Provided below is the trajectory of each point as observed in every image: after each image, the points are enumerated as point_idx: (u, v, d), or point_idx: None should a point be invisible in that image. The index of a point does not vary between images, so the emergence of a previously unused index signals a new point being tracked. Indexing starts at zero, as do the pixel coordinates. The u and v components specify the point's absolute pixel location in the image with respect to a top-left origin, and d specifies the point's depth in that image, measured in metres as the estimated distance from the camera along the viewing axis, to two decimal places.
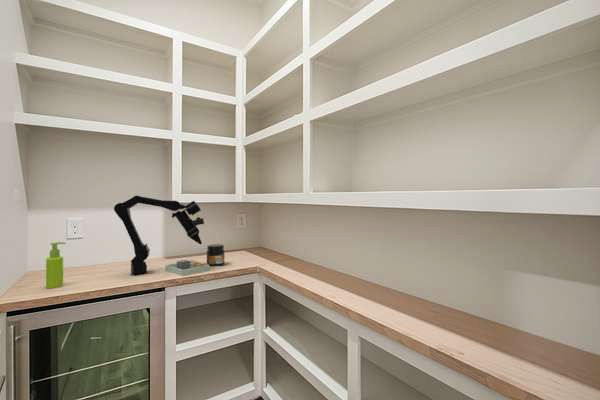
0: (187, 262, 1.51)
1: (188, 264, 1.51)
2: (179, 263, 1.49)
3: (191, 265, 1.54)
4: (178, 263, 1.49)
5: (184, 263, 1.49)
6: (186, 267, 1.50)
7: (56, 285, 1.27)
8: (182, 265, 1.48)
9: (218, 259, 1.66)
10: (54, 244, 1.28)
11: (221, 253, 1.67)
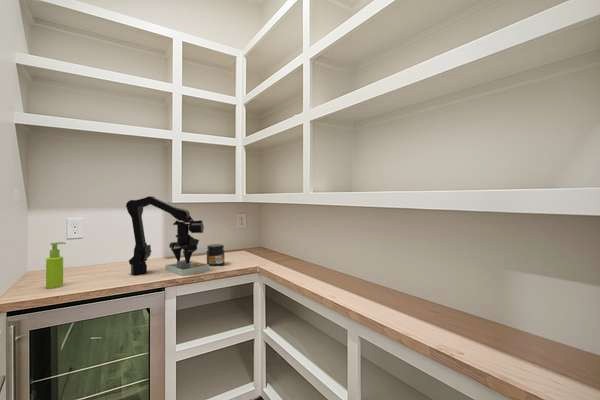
0: None
1: (188, 264, 1.51)
2: (179, 263, 1.49)
3: (191, 265, 1.54)
4: (178, 263, 1.49)
5: (184, 263, 1.49)
6: (186, 267, 1.50)
7: (56, 285, 1.27)
8: (182, 265, 1.48)
9: (218, 259, 1.66)
10: (54, 244, 1.28)
11: (221, 253, 1.67)
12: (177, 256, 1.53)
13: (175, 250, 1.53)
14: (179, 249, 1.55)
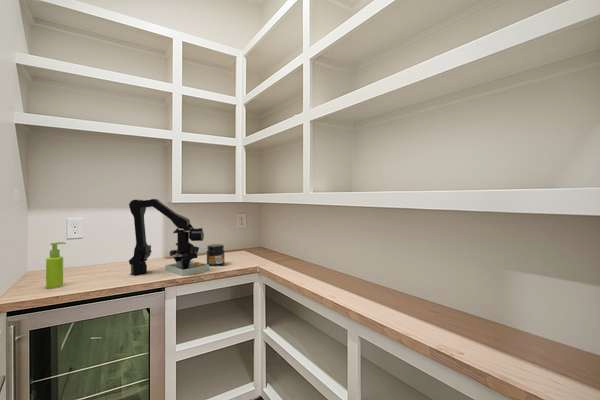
0: None
1: None
2: (179, 263, 1.49)
3: (191, 265, 1.54)
4: (178, 263, 1.49)
5: None
6: None
7: (56, 285, 1.27)
8: (182, 265, 1.48)
9: (218, 259, 1.66)
10: (54, 244, 1.28)
11: (221, 253, 1.67)
12: None
13: (177, 258, 1.52)
14: (181, 257, 1.53)
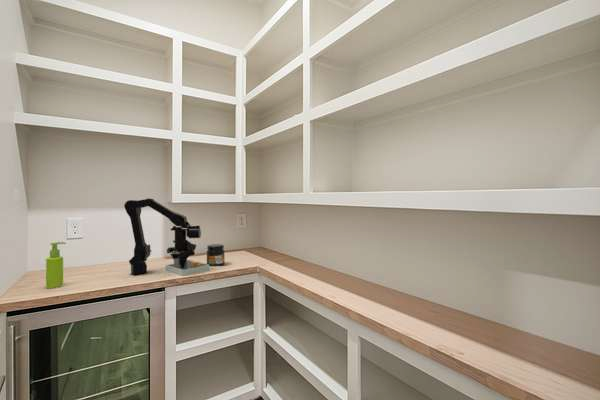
0: None
1: None
2: (176, 260, 1.50)
3: (188, 262, 1.55)
4: (175, 260, 1.50)
5: None
6: None
7: (56, 285, 1.27)
8: (179, 262, 1.49)
9: (218, 259, 1.66)
10: (54, 244, 1.28)
11: (221, 253, 1.67)
12: None
13: (175, 256, 1.53)
14: (179, 255, 1.54)
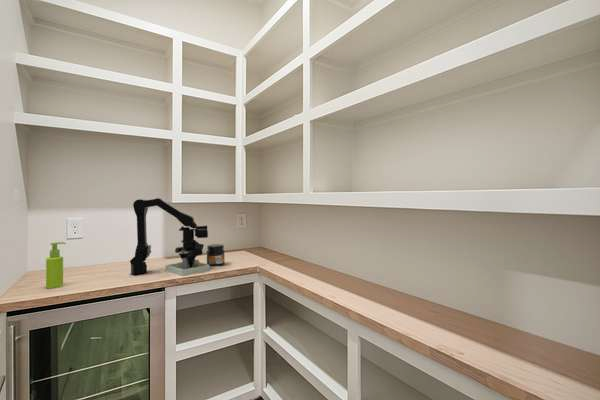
0: None
1: None
2: (185, 260, 1.53)
3: (196, 262, 1.58)
4: (184, 260, 1.54)
5: None
6: None
7: (56, 285, 1.27)
8: (187, 261, 1.53)
9: (218, 259, 1.66)
10: (54, 244, 1.28)
11: (221, 253, 1.67)
12: None
13: (183, 255, 1.56)
14: (187, 254, 1.58)
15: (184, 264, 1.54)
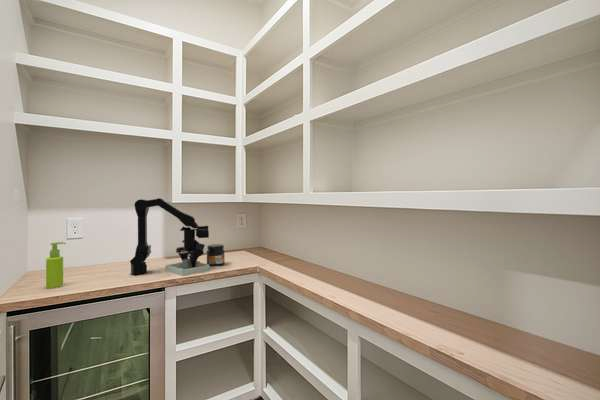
0: None
1: None
2: (185, 261, 1.54)
3: (197, 263, 1.58)
4: (184, 261, 1.54)
5: None
6: None
7: (56, 285, 1.27)
8: (188, 263, 1.53)
9: (218, 259, 1.66)
10: (54, 244, 1.28)
11: (221, 253, 1.67)
12: None
13: (182, 255, 1.58)
14: (186, 254, 1.59)
15: (185, 265, 1.54)
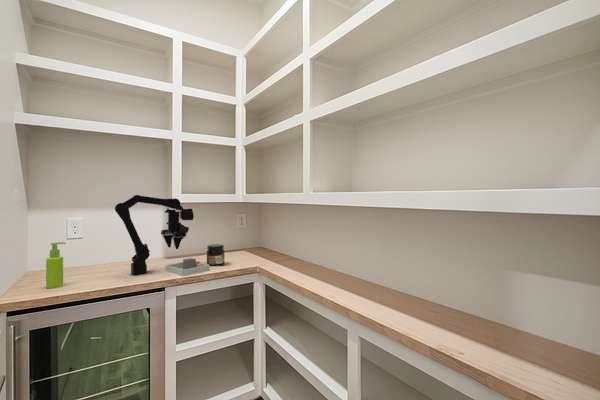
0: (193, 260, 1.56)
1: (194, 262, 1.56)
2: (185, 261, 1.54)
3: (197, 263, 1.58)
4: (184, 261, 1.54)
5: (190, 261, 1.54)
6: (192, 265, 1.55)
7: (56, 285, 1.27)
8: (188, 263, 1.53)
9: (218, 259, 1.66)
10: (54, 244, 1.28)
11: (221, 253, 1.67)
12: (168, 242, 1.61)
13: (166, 237, 1.61)
14: (170, 236, 1.63)
15: (185, 265, 1.54)
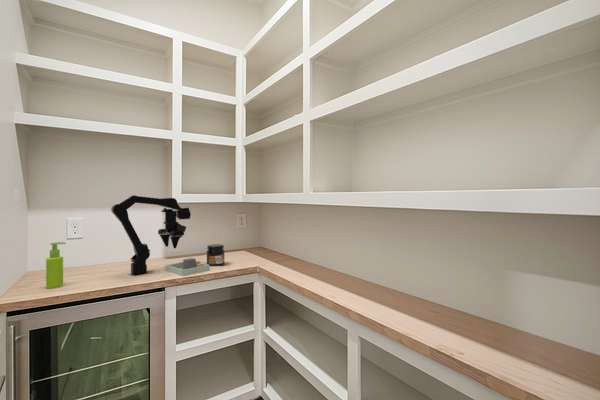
0: (193, 260, 1.56)
1: (194, 262, 1.56)
2: (185, 261, 1.54)
3: (197, 263, 1.58)
4: (184, 261, 1.54)
5: (190, 261, 1.54)
6: (192, 265, 1.55)
7: (56, 285, 1.27)
8: (188, 263, 1.53)
9: (218, 259, 1.66)
10: (54, 244, 1.28)
11: (221, 253, 1.67)
12: (165, 242, 1.62)
13: (163, 236, 1.62)
14: (167, 235, 1.63)
15: (185, 265, 1.54)
